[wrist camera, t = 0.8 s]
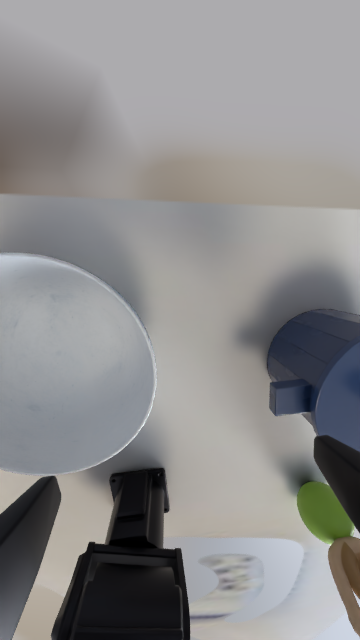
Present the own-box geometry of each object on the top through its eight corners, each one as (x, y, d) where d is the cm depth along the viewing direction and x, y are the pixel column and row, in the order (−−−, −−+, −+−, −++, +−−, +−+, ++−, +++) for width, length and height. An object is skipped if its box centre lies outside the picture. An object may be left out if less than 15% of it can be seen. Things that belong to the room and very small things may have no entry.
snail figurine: (282, 472, 25) (382, 644, 13) (330, 468, 25) (468, 632, 14) (278, 505, 26) (367, 689, 15) (324, 500, 27) (447, 676, 15)
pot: (376, 391, 23) (469, 443, 16) (243, 406, 23) (278, 468, 15) (390, 302, 21) (508, 316, 14) (242, 316, 20) (283, 339, 13)
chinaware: (165, 269, 19) (165, 266, 11) (155, 408, 22) (149, 477, 14) (-4, 253, 17) (-132, 237, 10) (12, 402, 21) (-76, 475, 13)
